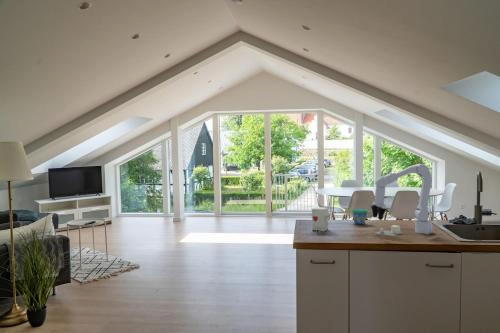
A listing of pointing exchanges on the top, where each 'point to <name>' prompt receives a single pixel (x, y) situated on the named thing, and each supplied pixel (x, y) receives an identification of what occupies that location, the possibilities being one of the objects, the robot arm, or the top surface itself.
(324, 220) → the supplement box
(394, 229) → the cap
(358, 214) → the snack cup
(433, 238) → the top surface
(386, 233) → the board
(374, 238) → the top surface
